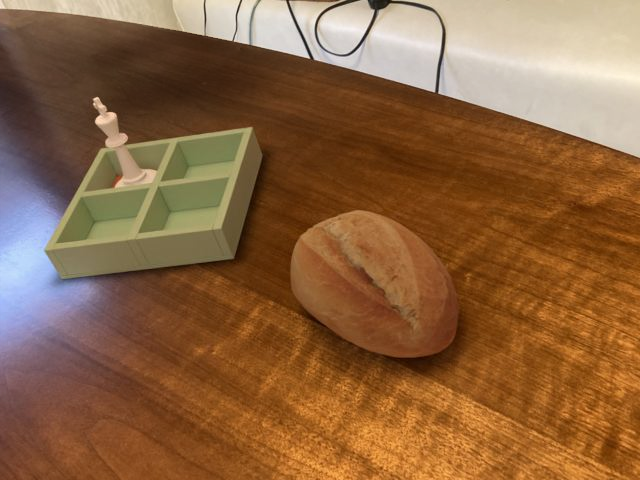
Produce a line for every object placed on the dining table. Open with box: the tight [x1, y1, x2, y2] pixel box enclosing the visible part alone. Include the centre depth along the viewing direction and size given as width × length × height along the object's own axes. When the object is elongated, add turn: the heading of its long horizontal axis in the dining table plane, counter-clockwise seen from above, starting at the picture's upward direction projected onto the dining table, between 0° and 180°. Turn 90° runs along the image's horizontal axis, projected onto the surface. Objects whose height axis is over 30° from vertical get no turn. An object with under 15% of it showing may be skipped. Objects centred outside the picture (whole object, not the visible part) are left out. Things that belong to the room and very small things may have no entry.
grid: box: [43, 126, 264, 280], centre depth 72 cm, size 16×16×3 cm
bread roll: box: [289, 209, 460, 359], centre depth 55 cm, size 10×15×8 cm, turn 43°
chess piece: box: [92, 96, 157, 188], centre depth 73 cm, size 5×5×10 cm
